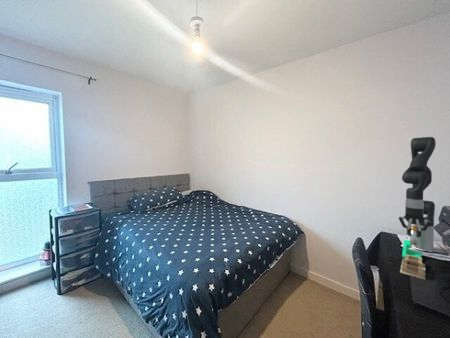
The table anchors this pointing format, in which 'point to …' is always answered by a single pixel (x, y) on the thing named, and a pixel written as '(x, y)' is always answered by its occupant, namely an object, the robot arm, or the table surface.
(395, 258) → the table surface
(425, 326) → the table surface
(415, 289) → the table surface
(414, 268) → the dock board
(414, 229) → the lock pin
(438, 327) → the table surface
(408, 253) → the camera mount
